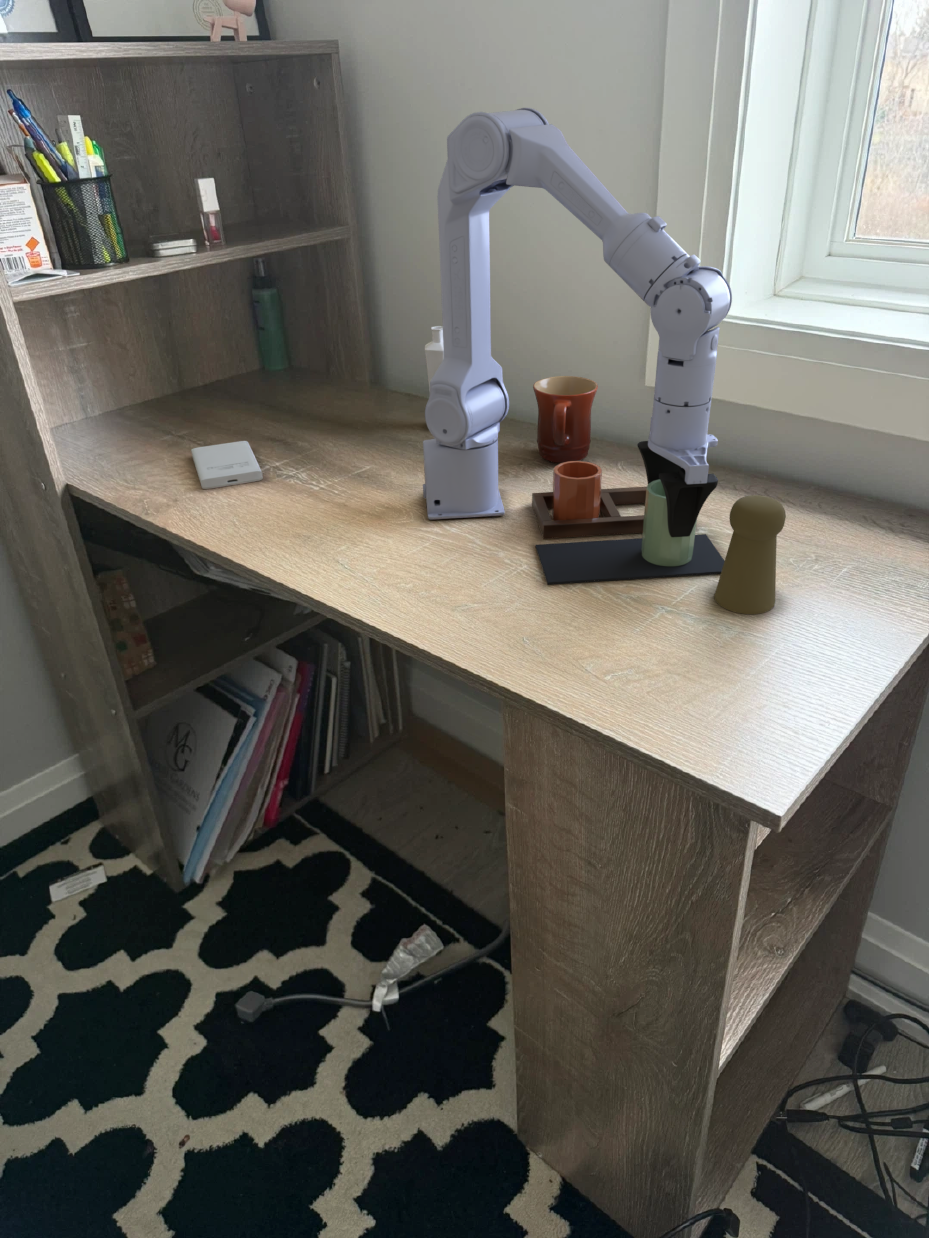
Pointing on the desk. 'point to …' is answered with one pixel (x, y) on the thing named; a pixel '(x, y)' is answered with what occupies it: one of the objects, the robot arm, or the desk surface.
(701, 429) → the robot arm
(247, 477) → the hard drive
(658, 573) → the desk mat
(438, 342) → the perfume bottle
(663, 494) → the cup
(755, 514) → the olive pepper mill
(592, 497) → the terracotta cup
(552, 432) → the mug
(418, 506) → the desk surface
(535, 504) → the holder
